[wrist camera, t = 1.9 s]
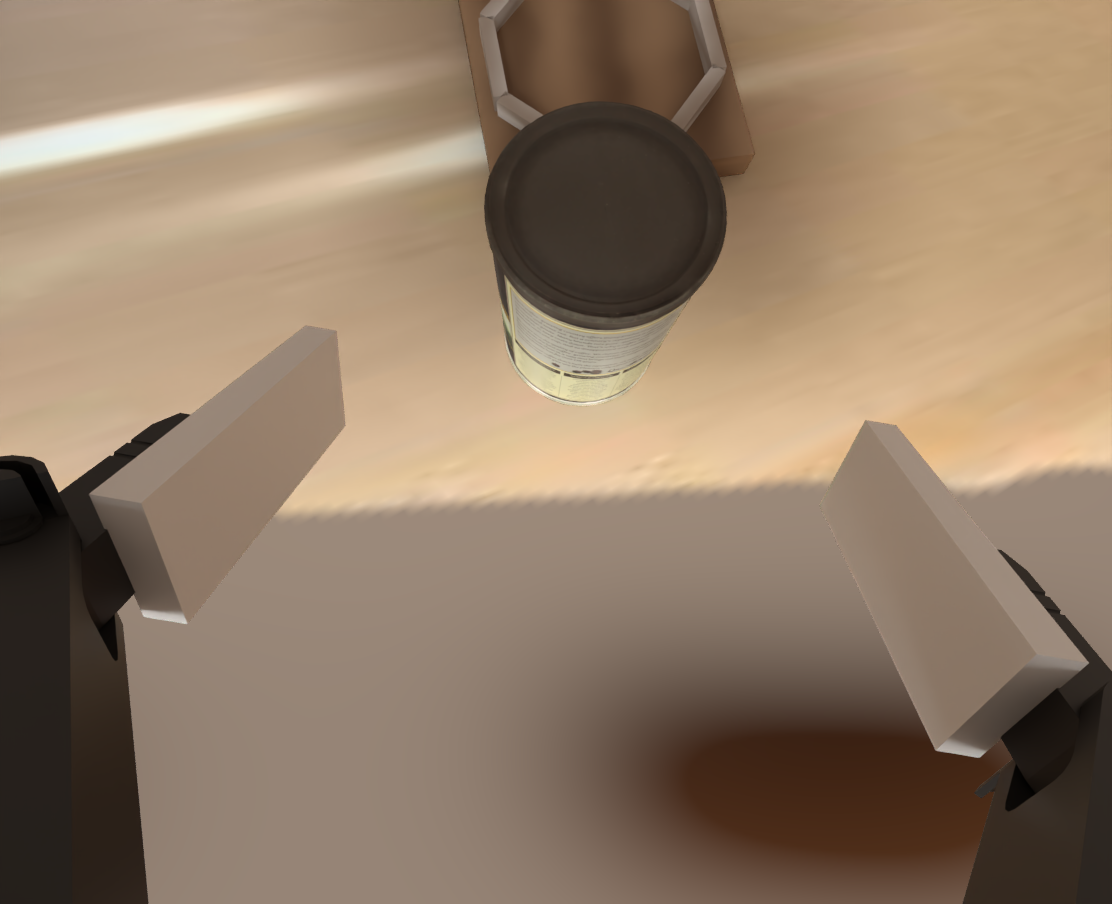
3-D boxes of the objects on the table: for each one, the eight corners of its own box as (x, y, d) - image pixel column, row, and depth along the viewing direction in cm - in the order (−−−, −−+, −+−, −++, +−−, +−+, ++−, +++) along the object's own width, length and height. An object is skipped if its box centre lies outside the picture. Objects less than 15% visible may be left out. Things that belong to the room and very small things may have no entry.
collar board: (496, 209, 38) (493, 178, 35) (456, -7, 41) (450, -53, 38) (743, 173, 39) (762, 141, 36) (688, -34, 42) (700, -81, 39)
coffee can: (475, 307, 37) (439, 162, 23) (605, 238, 38) (645, 62, 24) (552, 436, 36) (564, 366, 22) (684, 361, 37) (775, 249, 23)
